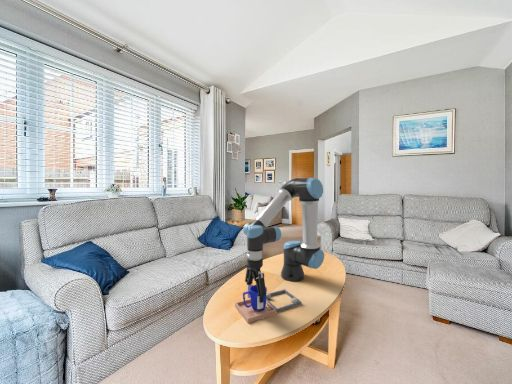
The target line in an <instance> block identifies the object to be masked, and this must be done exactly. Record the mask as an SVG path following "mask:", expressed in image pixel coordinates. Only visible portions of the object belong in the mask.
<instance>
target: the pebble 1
mask: <svg viewBox="0 0 512 384" xmlns="http://www.w3.org/2000/svg"><path fill="white" fill-rule="evenodd" d="M270 293H271V292H267V294H266V299H268V300H270V299H271V297H272V296H271V295H270Z"/></svg>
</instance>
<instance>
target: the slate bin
mask: <svg viewBox="0 0 512 384" xmlns="http://www.w3.org/2000/svg"><path fill="white" fill-rule="evenodd" d="M269 293H270V295H271V297H273V296H277V295H281V294H285V295H287V296H289V297H290V298H291V299H292V298H296V299H297V300H298V302H296V303H290V304H287V305H284V306H280V307H276V306H275V304H273V303H272V302H271V301H270V299H266V301H267V302H268V303H269V304H270V305H272V306H273V307H274V308H275V309H276V313H280V312H283V311H285V310H288V309H292V308H293V307H297V306H301V305H302V301H301V300H300V299H298V298H297V297H296V296H295V295H293V294H292V293H290V292H289V291H288V290H286V289H284V288H283V289H279V290H276V291H273V292H269Z"/></svg>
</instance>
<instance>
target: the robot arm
mask: <svg viewBox="0 0 512 384" xmlns="http://www.w3.org/2000/svg"><path fill="white" fill-rule="evenodd" d="M277 192H278V193H276V195H275V196H274V197H273V199H272V200H271V201H269V203H268V204H267V205H266V206H265V207H264V208H263V209H262V211H261V212H260V213H259V214H258V215H257V216H256V217H255V218H254V220H253V221H252V222H246V223H245V224H244V226H243V230H242V231H243V234H244V235H245V236H246V241H247V242H246V244H247V245H246V247H247V249H246V251H247V252H246V255H247V259H246V263H247V264H246V272H245V277H244V282H245V283H246V287H247V288H246V292H248V291H250V288H251V287H252V286H253V285H254V284H253V283H254V282H255V285H256V286H257V290H258V294H259V295H257V309H261V308H263V296H265V295H266V288H267V287H266V284H265V273H264V272H261V268H262V267H263V266H264V263H263V262H264V258H263V257H264V245H265V244H270V243H275V242H278V241H280V240H281V238H282V231H281V229H280V227H278V226H268V225H269V224H270V223H271V221H272V220H273V219H274V218H275V217H276V216H277V214H278V213H279V212H280V210H282V209H283V207H284V206H285V205H286V204H287V203H288V202H290V201H291V200H292V199H293V198H298V200H299V201H298V202H300V204H301V222H302V226H301V227H302V241H300V240H289V241H286V242H285V243H284V244H283V266H282V269H281V272H280V277H281V278H282V279H284V280H285V281H288V282H300V281H303V280H304V279H305V272H304V269H303V267H307V268H309V269H314V270H317V269H319V268H320V267H321V266H322V264H323V263H324V260H325V252H324V251H323V250H322V249H321V245H320V243H319V242H318V211H317V204H318V203H319V201H320V198H322V197H323V194H324V186H323V183H322V182H321V180H320V179H318V178H317V177H316V178H315V177H294V178H292V179H290V180H288V181H287V182H286V183H284V184H283V185H282V186H281V187H280V188H279V189H278V191H277ZM253 281H254V282H253ZM265 287H266V288H265ZM246 295H247V299H250V298H251V297H250V294H246Z"/></svg>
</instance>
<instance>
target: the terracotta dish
mask: <svg viewBox="0 0 512 384" xmlns="http://www.w3.org/2000/svg"><path fill="white" fill-rule="evenodd" d="M245 303H246V305H248V306H249V305H251V298H247V299H245ZM234 307H235V309H236V310H237V311H238V313H239V314H240V315H241V317H243V319H244V320H245V322H246V323H247V324H249V323H252V322H256V321H259V320H261V319H265V318H268V317H271V316H275V315H277V312H276V309H275V308H274V307H273V306H272V305H270V304H269V303H268V302H267V301H266V306H265V309H264V310H262V311H256V310H254V309H253V308H252V306H251V307H249V308H247V307H246V306H245V304H244V300H243V299H242V300H240V301H239V300H238V301H236V302H234Z"/></svg>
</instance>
